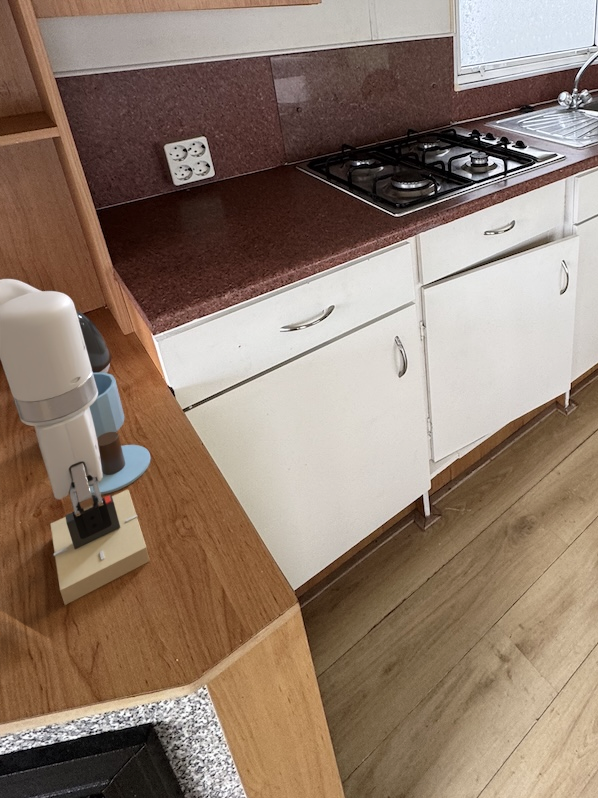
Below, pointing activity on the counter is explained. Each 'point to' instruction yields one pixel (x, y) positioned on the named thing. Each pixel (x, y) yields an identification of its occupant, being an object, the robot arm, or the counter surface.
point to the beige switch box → (99, 553)
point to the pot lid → (119, 463)
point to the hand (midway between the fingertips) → (90, 505)
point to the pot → (106, 405)
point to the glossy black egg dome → (94, 345)
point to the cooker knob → (114, 526)
